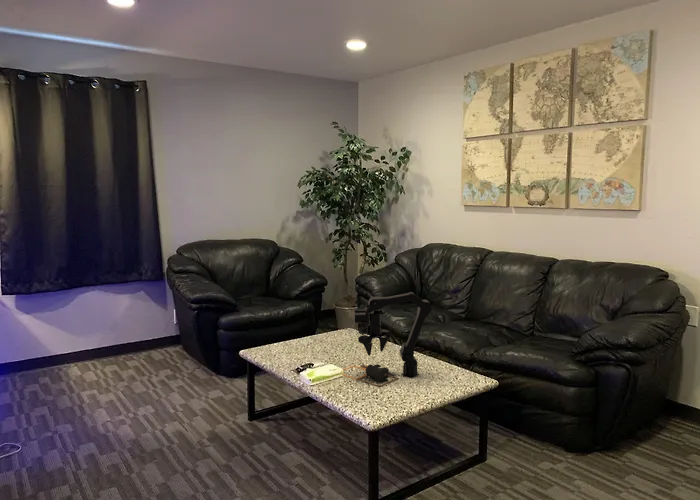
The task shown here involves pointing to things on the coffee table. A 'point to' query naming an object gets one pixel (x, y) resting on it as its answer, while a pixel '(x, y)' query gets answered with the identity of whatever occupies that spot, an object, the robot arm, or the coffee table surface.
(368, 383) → the walnut seat frame
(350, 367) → the orange marked frame
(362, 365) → the metal rail
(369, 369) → the end cap
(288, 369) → the coffee table surface
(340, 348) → the coffee table surface
